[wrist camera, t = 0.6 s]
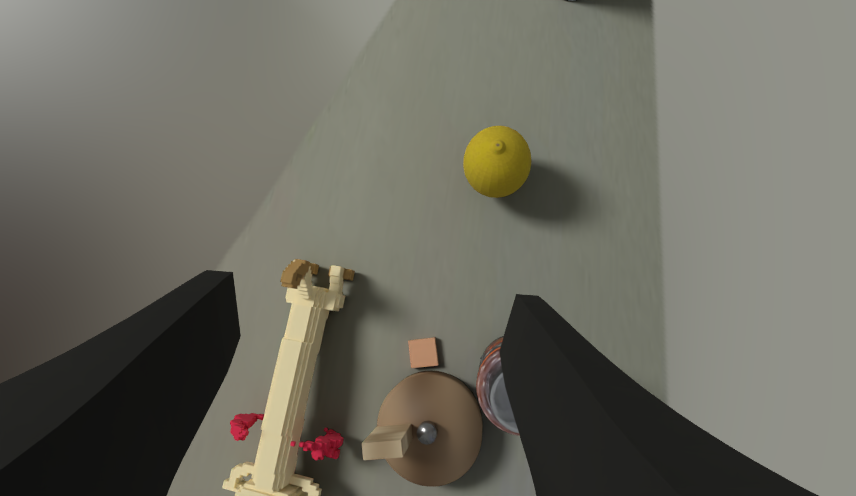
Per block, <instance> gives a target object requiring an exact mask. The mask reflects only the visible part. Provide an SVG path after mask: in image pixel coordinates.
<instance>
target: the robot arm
mask: <svg viewBox="0 0 856 496" xmlns="http://www.w3.org/2000/svg"><path fill="white" fill-rule="evenodd" d="M240 336H241V335H240V327H239V319H238V311H237V303H236V294H235V286H234V278H233V272H223V271H211V270H206V271H204V272H203V273H201V274H199V275H197V276H195V277H194V278H192V279H191V280H189V281H187V282H186V283H184V284H182V285H181V286H179V287H178V288H176V289H174V290H173V291H171V292H170V293H168V294H166V295H165V296H163V297H162V298H160V299H158V300H157V301H155V302H153V303H152V304H150V305H148V306H147V307H145V308H144V309H142V310H140V311H139V312H137V313H135V314H134V315H132V316H131V317H129V318H127V319H125V320H123V321H122V322H120V323H118V324H116V325H114V326H113V327H111V328H109V329H107V330H106V331H104V332H102V333H100V334H98V335H97V336H95V337H93V338H91V339H89V340H88V341H86V342H84V343H82V344H81V345H79V346H77V347H75V348H73V349H71V350H69V351H67V352H65V353H64V354H62V355H59V356H57V357H56V358H53V359H51V360H49V361H47V362H45V363H43V364H41V365H39V366H37V367H35V368H33V369H31V370H29V371H26V372H25V373H22V374H20V375H18V376H16V377H14V378H12V379H9V380H7V381H5V382H3V383H1V384H0V496H166V495H167V493H168V490H169V488H170V486H171V483H172V481H173V478H174V476H175V474H176V472H177V470H178V468H179V466H180V464H181V462H182V459H183V457H184V456H185V454H186V452H187V450H188V448H189V446H190V444H191V442H192V440H193V438H194V436H195V434H196V433H197V431H198V429H199V427H200V425H201V423H202V421H203V419H204V417H205V415H206V413H207V411H208V410H209V408H210V406H211V404H212V402H213V400H214V398H215V396H216V394H217V392H218V390H219V388H220V386H221V384H222V382H223V380H224V378H225V376H226V374H227V372H228V370H229V367H230V364H231V362H232V359H233V356H234V353H235V351H236V348H237V345H238V342H239V339H240ZM499 353H500V360H501V366H502V372H503V378H504V384H505V388H506V392H507V395H508V398H509V402H510V405H511V409H512V412H513V415H514V418H515V422H516V425H517V428H518V432H519V435H520V438H521V441H522V445H523V448H524V451H525V454H526V458H527V461H528V464H529V467H530V471H531V475H532V479H533V483H534V486H535V491H536V496H818V495H816V494H814V493H812V492H810V491H808V490H806V489H804V488H802V487H800V486H799V485H797V484H795V483H793V482H791V481H789V480H788V479H786V478H784V477H782V476H780V475H779V474H777V473H775V472H773V471H771V470H769V469H768V468H766V467H764V466H762V465H760V464H759V463H757V462H755V461H753V460H752V459H750V458H748V457H747V456H745V455H743V454H742V453H740V452H738V451H737V450H735V449H733V448H732V447H730V446H728V445H727V444H725V443H723V442H722V441H720V440H719V439H717V438H715V437H714V436H712V435H711V434H709V433H708V432H706V431H704V430H703V429H701V428H700V427H698V426H697V425H695V424H693V423H692V422H691V421H689V420H688V419H686V418H685V417H683V416H682V415H680V414H679V413H677V412H676V411H674V410H673V409H672V408H670V407H669V406H667V405H666V404H665V403H663V402H662V401H661V400H659V399H658V398H656V397H655V396H654V395H652V394H651V393H650V392H648V391H647V390H646V389H644V388H643V387H642V386H640V385H639V384H638V383H636V382H635V381H634V380H633V379H631V378H630V377H629V376H628V375H627V374H625V373H624V372H623V371H622V370H621V369H619V368H618V367H617V366H616V365H614V364H613V363H612V362H611V361H610V360H609V359H607V358H606V357H605V356H604V355H603V354H602V353H600V352H599V351H598V350H597V349H596V348H595V347H594V346H593V345H592V344H590V343H589V342H588V341H587V340H586V339H585V338H584V337H583V336H582V335H581V334H580V333H578V332H577V331H576V330H575V329H574V328H573V327H572V326H571V325H570V324H569V323H568V322H567V321H566V320H565V319H564V318H562V317H561V316H560V315H559V314H558V313H557V312H556V311H555V310H554V309H553V308H552V307H551V306H550V305H548V304H547V303H546V302H545V301H544V300H543V299H542V298H540V297H539V296H533V295H520V294H516V297H515V300H514V304H513V307H512V310H511V314H510V317H509V320H508V324H507V327H506V330H505V334H504V337H503V340H502V344H501V347H500V351H499Z"/></svg>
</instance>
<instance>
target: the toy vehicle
mask: <svg viewBox="0 0 856 496" xmlns="http://www.w3.org/2000/svg"><path fill="white" fill-rule="evenodd" d="M318 268H319V265H317V264H313V263H310V262H308V261H306V260H299V259H294V262H293V261H291V264H288V268H287V267H286V269H285V271H283V273H282V277H281V281H280V282H282V285H281V286H283V287H288V289H287V294H286V298H285V299H287V300H286V302H288V303H292V306H291V310H290V314H289V319H288V323H287V327H286V332H285V336H284V338H282V341H281V346H280V350H279V354H278V359H277V363H276V367H275V371H274V376H273V380H272V384H271V388H270V393H269V397H268V401H267V405H266V410H265V414H254V413H251V414H238V415H235V418H234V420H231V422H230V424H231V427H232V428H231V434H233V436H234V438H235V440H237V441H238V440H245V438H246V436H247V435H248V433H249V431H248V428H250V427H251V426H252V425H253V424H254V423H255V422H256V421H257V419H260V420H263V422H262V427H261V429H263V430H262V434H261V438H260V443H259V447H258V451H257V455H256V460H255V463H251V462H245V463H243V464H238V465H236V467H234V468H232V470H231V474H230V478H228V479H226V480H224V483H223V487H222V488H224V489H228V490H231V491H235V492H236V493H235V496H321V491H322V489H321V488H319V484H317V483H314V482H313V479H314V478H310V477H306V476H302V475H298V474H294V472H295V468H296V463H297V458H298V455H297V452H298V447H304V448H303V450H304V451H308V450H310V451H312V450H313V451H312V453H311V455H312V458H314V460H318V459H320V460H323V459H324V455H326V457H329V458H333V459H337V458H338V457H339V454H340V450H339V449H338V448H339V447H340V446H342V444H343V439H344V438H343V437H342V436H340V435H341V434H340V433H336V431H334V430H332V429H330V430H329V431H328V428H324V431H325V432H327V433H326V435H325V436H319V437H317V438H316V440H315V442H313V441H306V442H300V438H301V434H302V429H303V424H304V420H305V419H303V418H304V414H305V409H306V404H307V400H308V395H309V391H310V386H311V381H312V377H313V372H314V368H315V363H316V359H317V354H318V353H319V351H320V346H321V342H322V337H323V332H324V328H325V323H326V319H328V315H329V311H330V310H333V311H339V308H342V309H343V304H344V300H345V295H342V294H343V292H342V289H343V284H344V282H343V279H344V280H352V281H353V277H354V272H355V271H353V270H350V269H345V268H343V267H340V266H334V265H331V266H330V270H329V274H328V276H330V281H329V282H330V287H329V289H326V288H322V287H317V286H313V285H312V282H311V278H312V274H316V275H317V273H318ZM250 474H252V477H251V478H252V479H251V480H249V481H244V479H243V478H241V477H243V476H248V475H250Z"/></svg>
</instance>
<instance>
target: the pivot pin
mask: <svg viewBox="0 0 856 496" xmlns="http://www.w3.org/2000/svg"><path fill="white" fill-rule="evenodd" d="M437 433H438V429H437V426H436V425H435V424H434V423H433V422H432V421H424V422H422V423H421V424H420V426H419V427H418V429H417V438H418V440H419V441H420V442H421V443H423V444H426V445H428V444H431V443H433V442H434V441H435V439H436V436H437Z"/></svg>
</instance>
